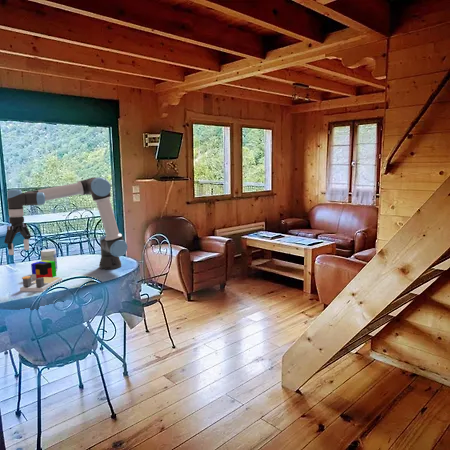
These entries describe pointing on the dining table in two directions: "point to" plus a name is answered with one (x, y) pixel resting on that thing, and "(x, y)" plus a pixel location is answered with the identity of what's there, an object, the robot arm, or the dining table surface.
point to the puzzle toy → (43, 269)
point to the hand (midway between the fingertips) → (19, 252)
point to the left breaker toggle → (39, 282)
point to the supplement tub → (49, 255)
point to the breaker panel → (47, 283)
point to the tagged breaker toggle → (26, 281)
